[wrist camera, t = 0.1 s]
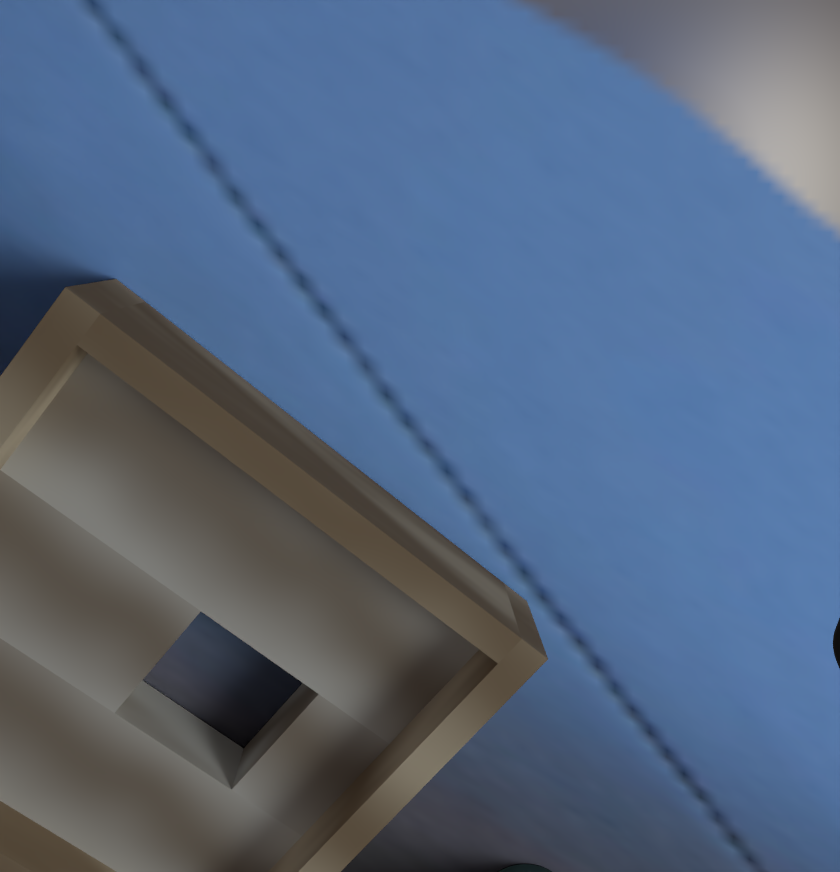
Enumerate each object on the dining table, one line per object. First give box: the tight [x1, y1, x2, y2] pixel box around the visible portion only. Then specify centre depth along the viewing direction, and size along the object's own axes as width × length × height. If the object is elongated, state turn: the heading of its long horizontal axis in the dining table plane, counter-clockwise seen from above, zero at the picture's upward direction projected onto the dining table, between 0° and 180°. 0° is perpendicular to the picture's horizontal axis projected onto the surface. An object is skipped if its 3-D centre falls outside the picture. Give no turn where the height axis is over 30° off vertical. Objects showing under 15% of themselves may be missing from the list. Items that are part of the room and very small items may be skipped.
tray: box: [0, 279, 548, 872], centre depth 23 cm, size 16×16×4 cm
